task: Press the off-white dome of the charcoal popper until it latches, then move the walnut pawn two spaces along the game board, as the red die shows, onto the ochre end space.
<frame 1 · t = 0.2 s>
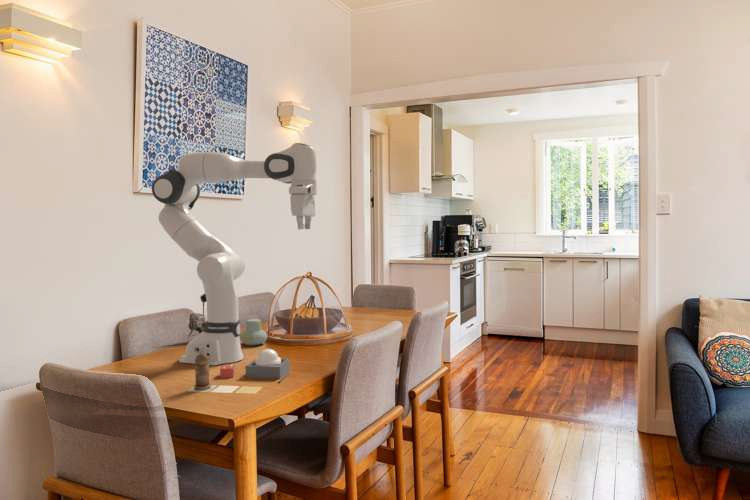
hand: (304, 229, 199), 47 cm above the table, fingers open, 8 cm apart
game board: (225, 393, 164), on the table
red die: (227, 379, 178), on the table
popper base: (268, 377, 181), on the table
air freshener: (253, 344, 232), on the table
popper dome: (268, 359, 181), point 6 cm above the table, slide at 0.0 cm
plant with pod: (201, 341, 238), on the table
walnut pawn: (202, 388, 165), point 1 cm above the table, touching game board
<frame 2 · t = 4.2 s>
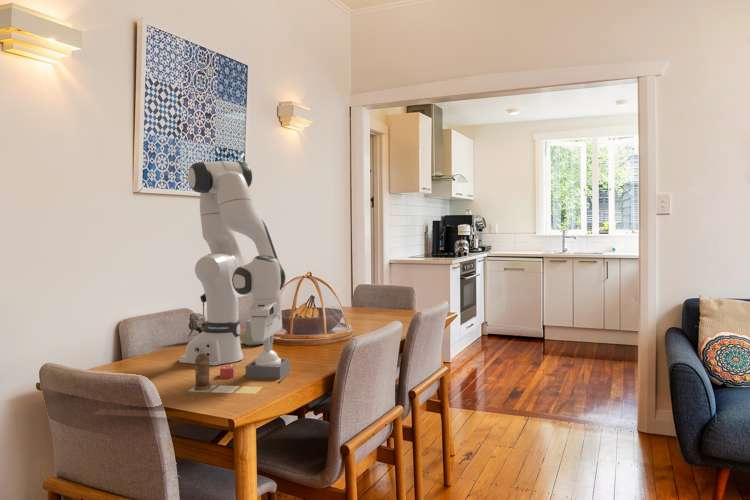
hand: (268, 349, 180), 9 cm above the table, fingers closed, pressing on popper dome
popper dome: (268, 359, 181), point 6 cm above the table, slide at -0.2 cm, touching gripper
everything else where it was.
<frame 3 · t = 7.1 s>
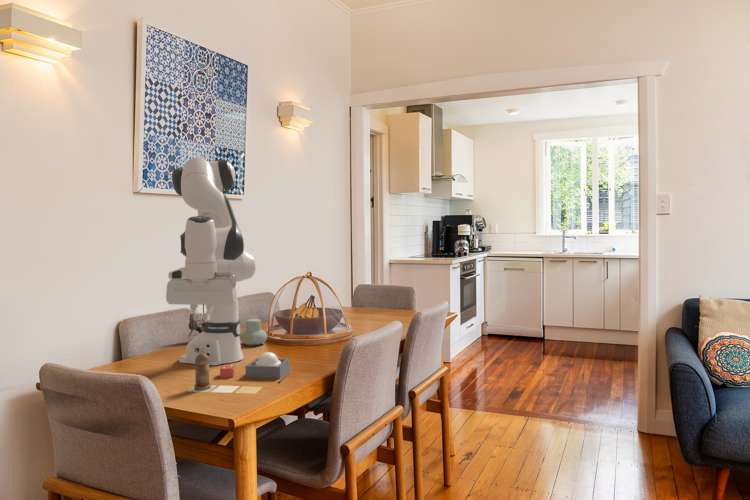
hand: (202, 320, 164), 21 cm above the table, fingers closed
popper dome: (268, 362, 181), point 5 cm above the table, slide at -1.0 cm
everything else where it was.
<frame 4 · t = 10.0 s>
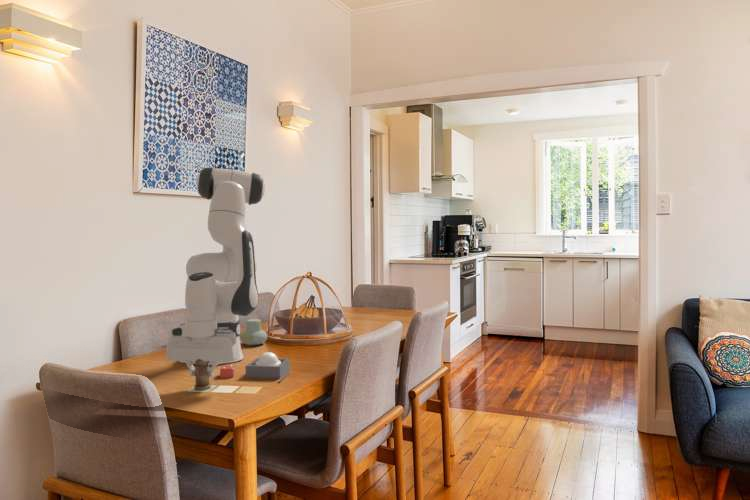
hand: (202, 376, 165), 5 cm above the table, fingers closed on walnut pawn, 4 cm apart
walnut pawn: (202, 388, 165), point 1 cm above the table, touching game board, gripper
everything else where it was.
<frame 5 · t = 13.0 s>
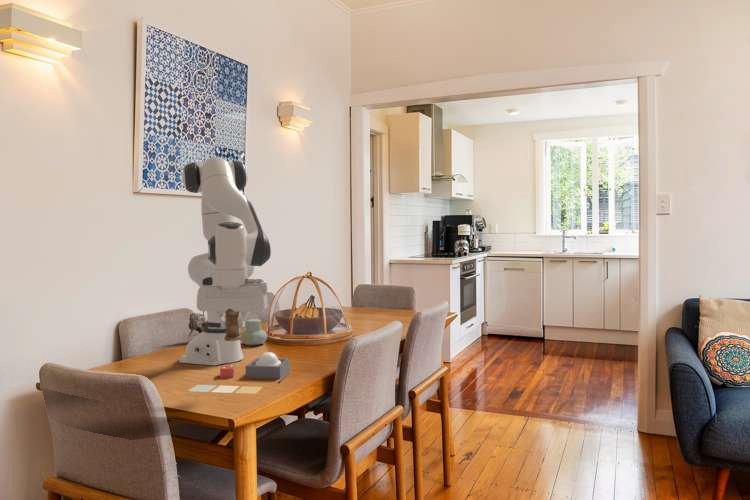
hand: (232, 326, 162), 20 cm above the table, fingers closed on walnut pawn, 4 cm apart
walnut pawn: (232, 339, 162), point 16 cm above the table, touching gripper
everything else where it was.
when the fingers open (6 cm above the table, at t = 16.2 s): walnut pawn drops 1 cm, resting on game board.
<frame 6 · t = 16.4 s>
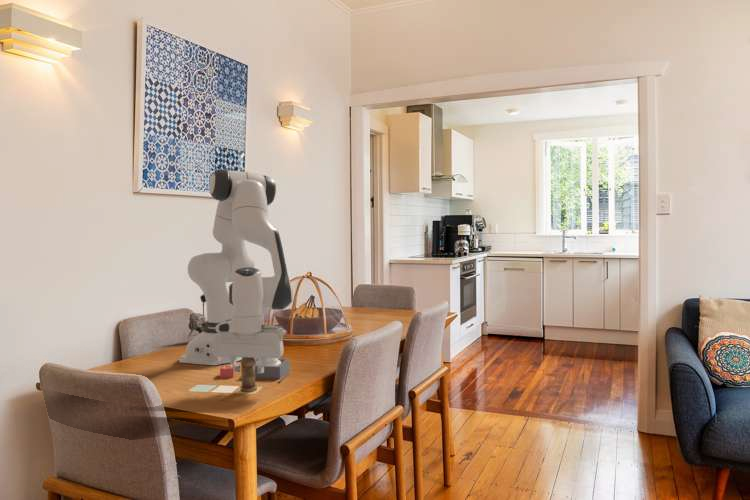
hand: (248, 372, 163), 6 cm above the table, fingers open, 6 cm apart
walnut pawn: (248, 389, 163), point 1 cm above the table, touching game board
everything else where it was.
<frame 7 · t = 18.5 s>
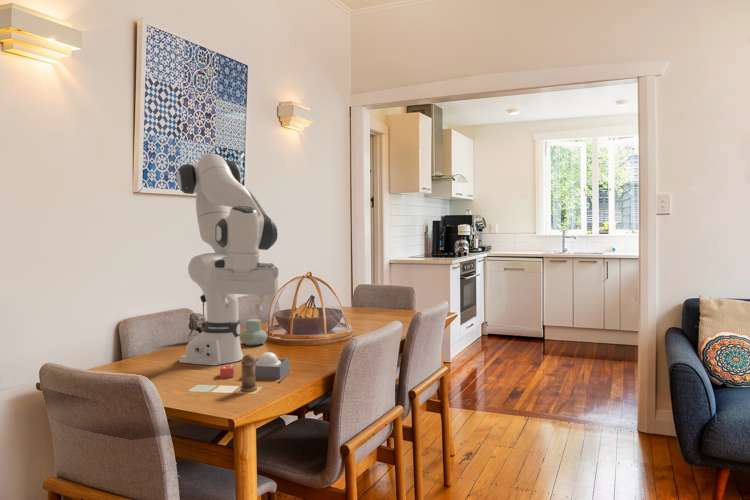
hand: (243, 309, 165), 24 cm above the table, fingers open, 8 cm apart
nothing on the table moved.
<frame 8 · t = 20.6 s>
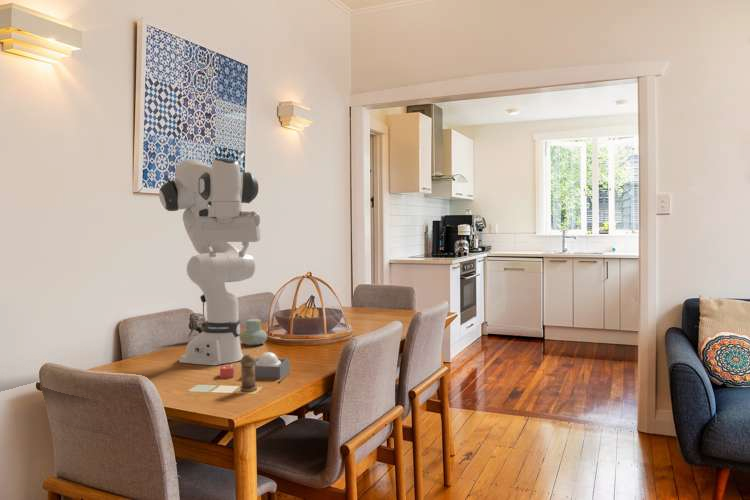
hand: (227, 257, 172), 39 cm above the table, fingers open, 8 cm apart
nothing on the table moved.
at the end: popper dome slide at -1.0 cm; walnut pawn 0.0 cm from the target spot on the game board, point 1.3 cm above the game board's base; walnut pawn tilted 1° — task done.
